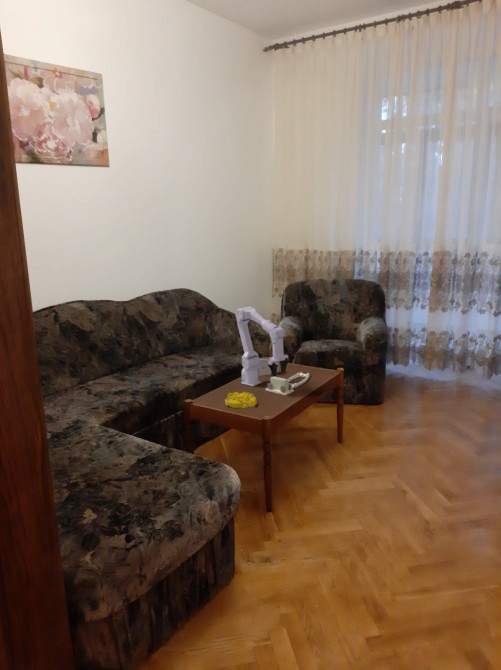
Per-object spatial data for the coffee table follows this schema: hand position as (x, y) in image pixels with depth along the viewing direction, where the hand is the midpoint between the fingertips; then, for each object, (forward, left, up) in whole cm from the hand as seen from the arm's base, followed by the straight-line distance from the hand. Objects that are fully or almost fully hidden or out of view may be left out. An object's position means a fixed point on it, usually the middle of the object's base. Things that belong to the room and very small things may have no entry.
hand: (278, 374), depth 269 cm
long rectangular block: (0, 0, -8) cm, 8 cm away
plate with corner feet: (0, 0, -9) cm, 9 cm away
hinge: (-25, +21, -10) cm, 34 cm away
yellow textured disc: (-6, -25, -10) cm, 28 cm away
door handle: (-1, +18, -10) cm, 21 cm away
